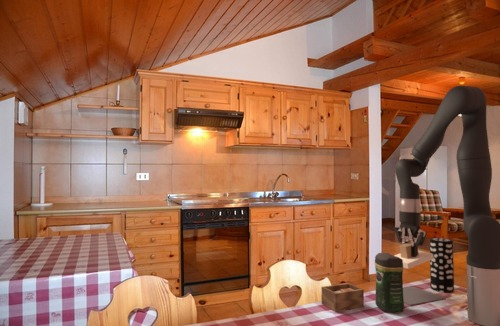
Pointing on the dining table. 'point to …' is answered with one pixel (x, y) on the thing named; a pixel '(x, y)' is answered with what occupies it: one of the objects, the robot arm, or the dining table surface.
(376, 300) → the coffee jar
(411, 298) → the mat
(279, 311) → the dining table surface
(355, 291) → the tea box
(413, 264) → the lid
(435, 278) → the spotted tube
